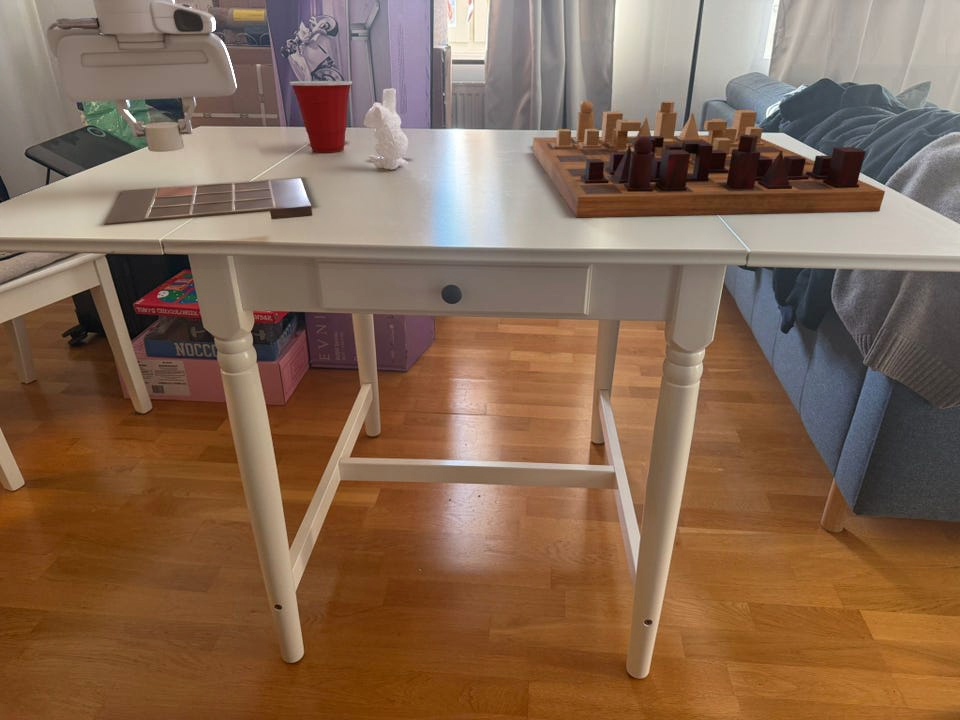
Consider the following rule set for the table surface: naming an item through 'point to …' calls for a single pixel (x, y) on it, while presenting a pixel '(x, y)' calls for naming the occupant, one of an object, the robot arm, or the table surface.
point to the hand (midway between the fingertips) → (164, 135)
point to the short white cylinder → (163, 137)
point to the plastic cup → (324, 112)
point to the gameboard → (695, 169)
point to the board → (212, 201)
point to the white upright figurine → (387, 132)
